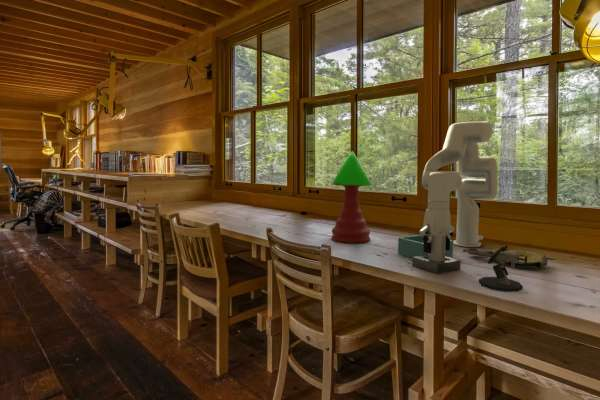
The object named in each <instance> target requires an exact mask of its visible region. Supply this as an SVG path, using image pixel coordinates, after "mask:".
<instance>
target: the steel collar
mask: <svg viewBox="0 0 600 400" xmlns="http://www.w3.org/2000/svg"><path fill="white" fill-rule="evenodd" d="M461 261H462V260H461V259H459V258H458V259H457V258H454V257H451V258H450V257H446V256H445V261H441V262H435V261H431V260H428V255H422V256H416V257H413V258H412V267H415V268H418V269H420V270H423V271H426V272H429V273H433V274H436V275H439V274H444V273H445V274H446V273H449V272H455V271H460V270H461Z"/></svg>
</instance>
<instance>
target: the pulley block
mask: <svg viewBox="0 0 600 400" xmlns="http://www.w3.org/2000/svg"><path fill="white" fill-rule="evenodd" d="M499 249H500V248H492V249H491V251H490V250H487V249H486V250H485V249H481V248H478V247H475V248H474V247H469V248H467V250H472V251H478V252H484V253H489V254H492V253H495V252H497V251H498V250H499ZM505 252H509V253H515V254H520V255H519V258H523V259H525V256H527V264H525V261H524V260H519V262H517V263H515V269H517V270H525V271H537V270H538V271H539V270H541V271H546V269H545V267H547V266H548V261H550V260H551V261H556V258H550V257H547V255H546V254H544V255H543V254H539V253H538V252H532V251H527V250H514V249H506V250H505ZM467 253H468V252H467ZM468 254H469V255H474V256H478V257H484V258H485V257H486V258H490V256H484V255H479V254H473V253H468ZM493 263H497V264H499V260H498V259H496V260H495V261H493ZM504 265H505V267H506V268H507V267H508V268H511V262H509V261H505V264H504ZM511 269H512V268H511ZM515 269H514V270H515Z"/></svg>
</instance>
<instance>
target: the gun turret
mask: <svg viewBox="0 0 600 400" xmlns="http://www.w3.org/2000/svg"><path fill="white" fill-rule="evenodd" d="M508 248H509V246H508V245H505V246H502V247H500V248H498V249H499V250H498V251H497V252H495V253H492V254H489V253H484V252H478V251H472V250H468V249H465V248H463V250H462V252H463V253H473V254H479V255H484V256H490V257H489V259H488V262H487V264H493V263H494V261H495V260H496V259H498V260H499V263H497V264H496V265H492V269H493V273H495V276H483V277H481V278H479V279H478V284H479V285H480V284H481V285H480V286H481V287H483V286H484V288H486V289H490V290H492V291H493V290H494V291H497V292H498V291H499V292H506V293H507V292H510V293H511V292H519V291H521V290H523V289H522V288H523V287H524V286H523V284H521V282H520V281H516V280H513V279H511V278H508V275H509V272H508V270H507V267H506V266H505V265H504V264H505V261H509V262H511V269H512V270H515V263H517V262H519V260H524V261H525V264H527V256H525V259H523V258H519V255H520V254H515V253H509V252H505V250H508ZM473 254H472V255H473Z"/></svg>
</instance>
